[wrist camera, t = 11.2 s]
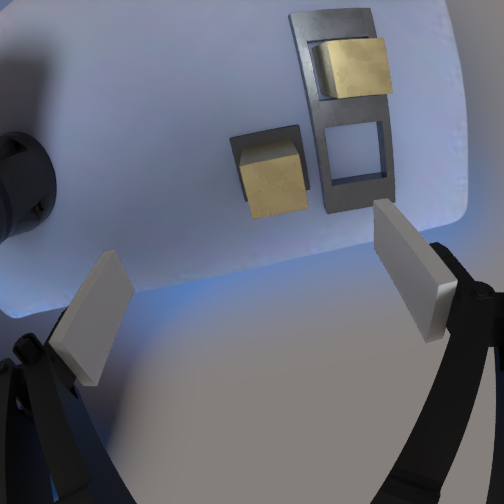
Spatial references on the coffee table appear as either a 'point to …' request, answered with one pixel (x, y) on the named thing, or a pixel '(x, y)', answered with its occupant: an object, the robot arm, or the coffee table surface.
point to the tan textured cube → (273, 178)
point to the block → (352, 67)
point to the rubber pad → (268, 136)
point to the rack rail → (344, 109)
